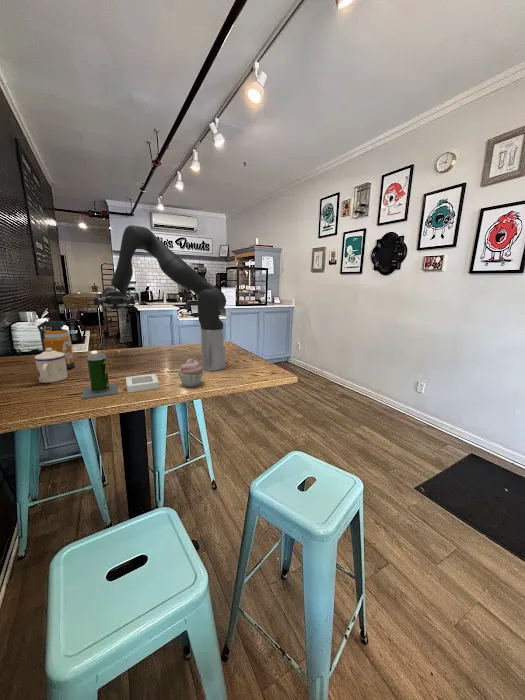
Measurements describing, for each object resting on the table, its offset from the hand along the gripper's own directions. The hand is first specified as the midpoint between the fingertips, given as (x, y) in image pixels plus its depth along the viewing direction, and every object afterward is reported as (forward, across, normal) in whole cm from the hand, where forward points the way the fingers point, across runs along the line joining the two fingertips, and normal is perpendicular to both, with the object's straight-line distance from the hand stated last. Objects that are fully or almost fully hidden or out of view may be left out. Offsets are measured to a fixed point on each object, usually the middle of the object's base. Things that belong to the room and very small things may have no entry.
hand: (115, 302), depth 105 cm
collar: (+16, +6, +28) cm, 33 cm away
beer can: (+16, -7, +28) cm, 33 cm away
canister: (-19, -23, +28) cm, 41 cm away
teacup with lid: (-3, -23, +28) cm, 37 cm away
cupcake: (+22, +22, +28) cm, 42 cm away
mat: (+16, -7, +28) cm, 33 cm away
